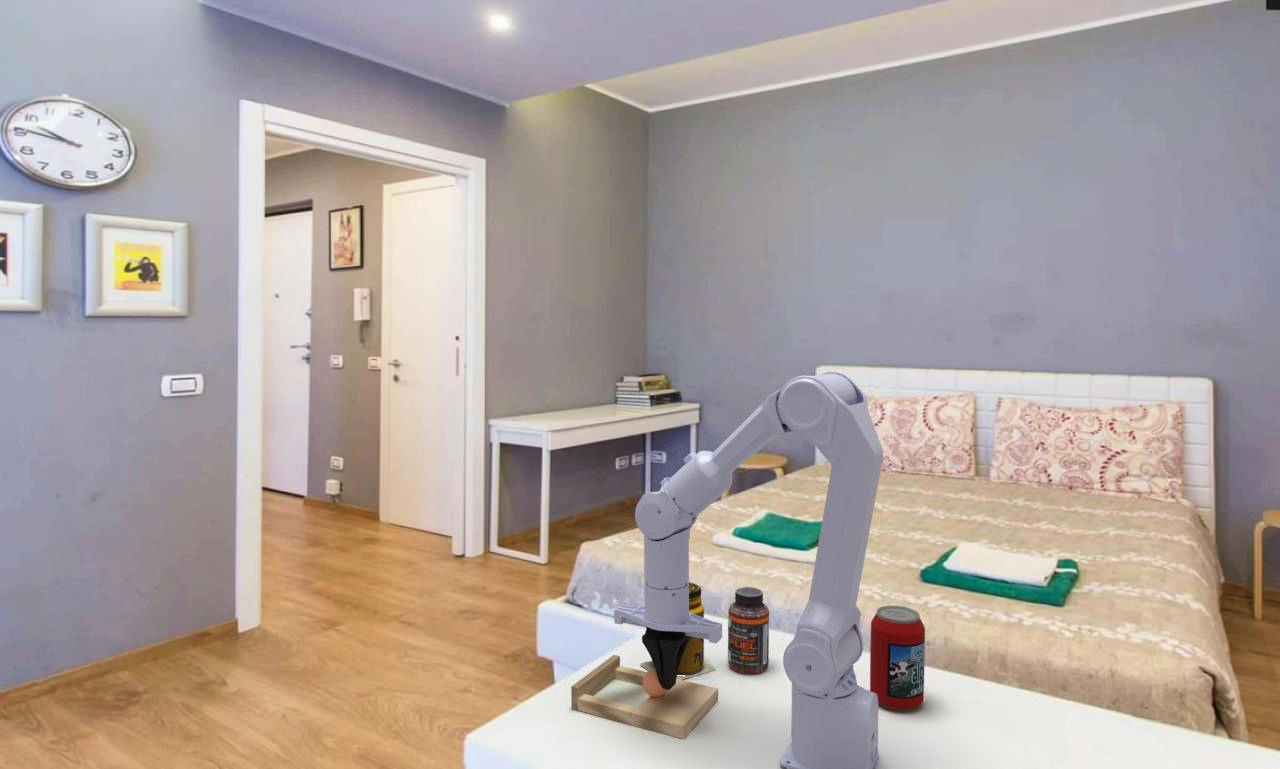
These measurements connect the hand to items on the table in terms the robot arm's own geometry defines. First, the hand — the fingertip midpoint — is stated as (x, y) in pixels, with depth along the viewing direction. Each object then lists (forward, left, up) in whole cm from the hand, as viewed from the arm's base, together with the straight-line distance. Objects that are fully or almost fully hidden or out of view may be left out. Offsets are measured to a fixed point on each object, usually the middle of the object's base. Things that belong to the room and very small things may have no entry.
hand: (667, 685), depth 99 cm
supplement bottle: (-5, -17, -3) cm, 18 cm away
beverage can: (-26, -16, -3) cm, 31 cm away
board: (+3, 0, -3) cm, 5 cm away
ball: (+2, 0, 0) cm, 2 cm away
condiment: (+4, -12, -3) cm, 13 cm away
